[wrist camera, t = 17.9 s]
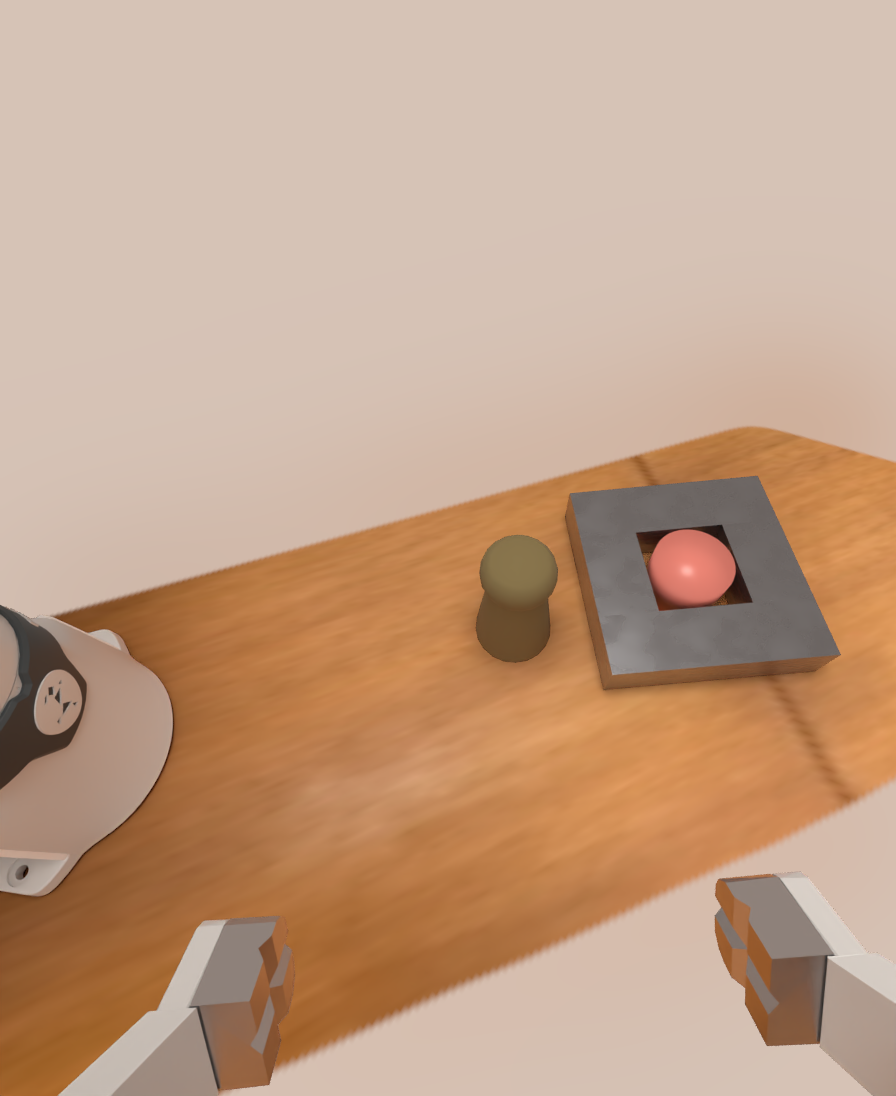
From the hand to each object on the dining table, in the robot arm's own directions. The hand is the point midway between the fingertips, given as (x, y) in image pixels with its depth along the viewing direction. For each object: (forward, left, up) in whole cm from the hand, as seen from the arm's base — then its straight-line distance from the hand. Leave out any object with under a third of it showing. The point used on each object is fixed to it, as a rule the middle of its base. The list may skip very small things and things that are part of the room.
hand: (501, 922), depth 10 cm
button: (+18, +20, -29) cm, 40 cm away
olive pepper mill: (+4, +18, -30) cm, 35 cm away
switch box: (+18, +20, -29) cm, 40 cm away
